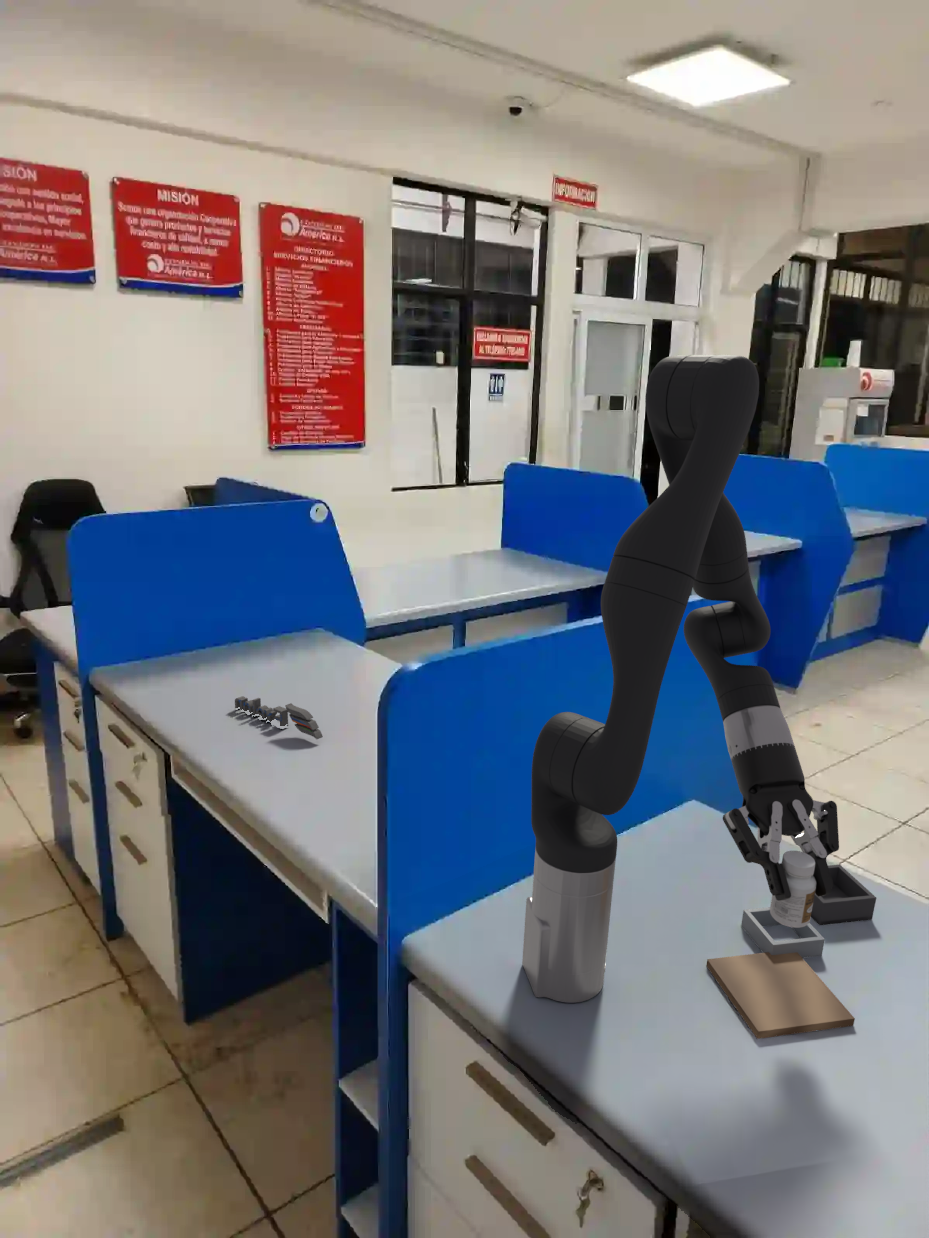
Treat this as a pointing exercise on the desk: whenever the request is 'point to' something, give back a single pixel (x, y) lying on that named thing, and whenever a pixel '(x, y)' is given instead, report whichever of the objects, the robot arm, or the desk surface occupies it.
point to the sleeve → (805, 946)
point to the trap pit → (843, 900)
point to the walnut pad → (778, 994)
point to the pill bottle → (796, 891)
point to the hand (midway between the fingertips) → (804, 896)
